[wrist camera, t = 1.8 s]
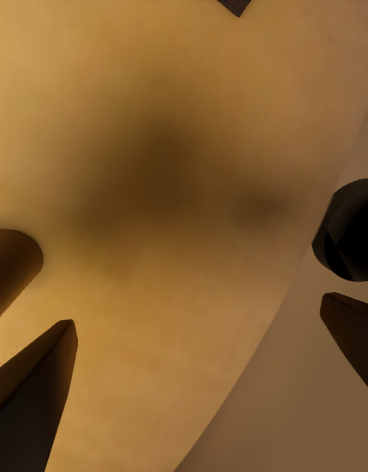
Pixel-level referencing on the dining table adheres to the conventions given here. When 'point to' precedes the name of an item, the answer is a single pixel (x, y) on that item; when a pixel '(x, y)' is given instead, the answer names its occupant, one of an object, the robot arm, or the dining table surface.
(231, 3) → the tray
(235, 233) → the dining table surface
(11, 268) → the pepper grinder
